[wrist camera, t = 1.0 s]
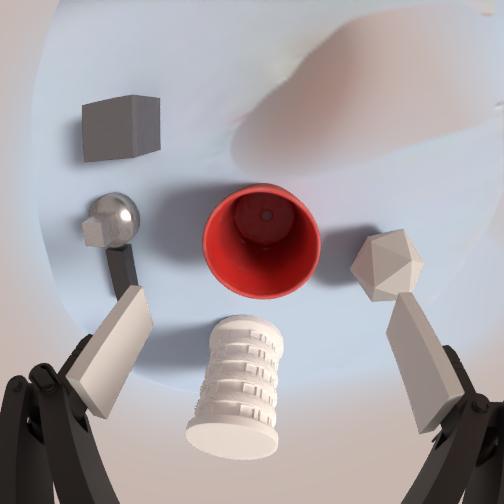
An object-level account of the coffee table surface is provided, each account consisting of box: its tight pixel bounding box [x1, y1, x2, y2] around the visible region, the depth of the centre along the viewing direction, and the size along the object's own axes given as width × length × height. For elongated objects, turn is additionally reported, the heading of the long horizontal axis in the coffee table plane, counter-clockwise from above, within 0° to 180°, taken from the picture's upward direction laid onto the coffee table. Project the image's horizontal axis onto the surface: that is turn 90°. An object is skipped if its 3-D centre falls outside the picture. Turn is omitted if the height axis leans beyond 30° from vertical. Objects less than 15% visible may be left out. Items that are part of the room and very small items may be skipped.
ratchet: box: [82, 192, 140, 301], centre depth 35 cm, size 16×7×6 cm, turn 178°
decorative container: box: [185, 315, 283, 460], centre depth 35 cm, size 12×12×18 cm
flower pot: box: [202, 183, 321, 299], centre depth 29 cm, size 11×11×10 cm
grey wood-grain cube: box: [82, 95, 161, 162], centre depth 27 cm, size 6×6×7 cm
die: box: [350, 229, 424, 302], centre depth 31 cm, size 8×9×10 cm
